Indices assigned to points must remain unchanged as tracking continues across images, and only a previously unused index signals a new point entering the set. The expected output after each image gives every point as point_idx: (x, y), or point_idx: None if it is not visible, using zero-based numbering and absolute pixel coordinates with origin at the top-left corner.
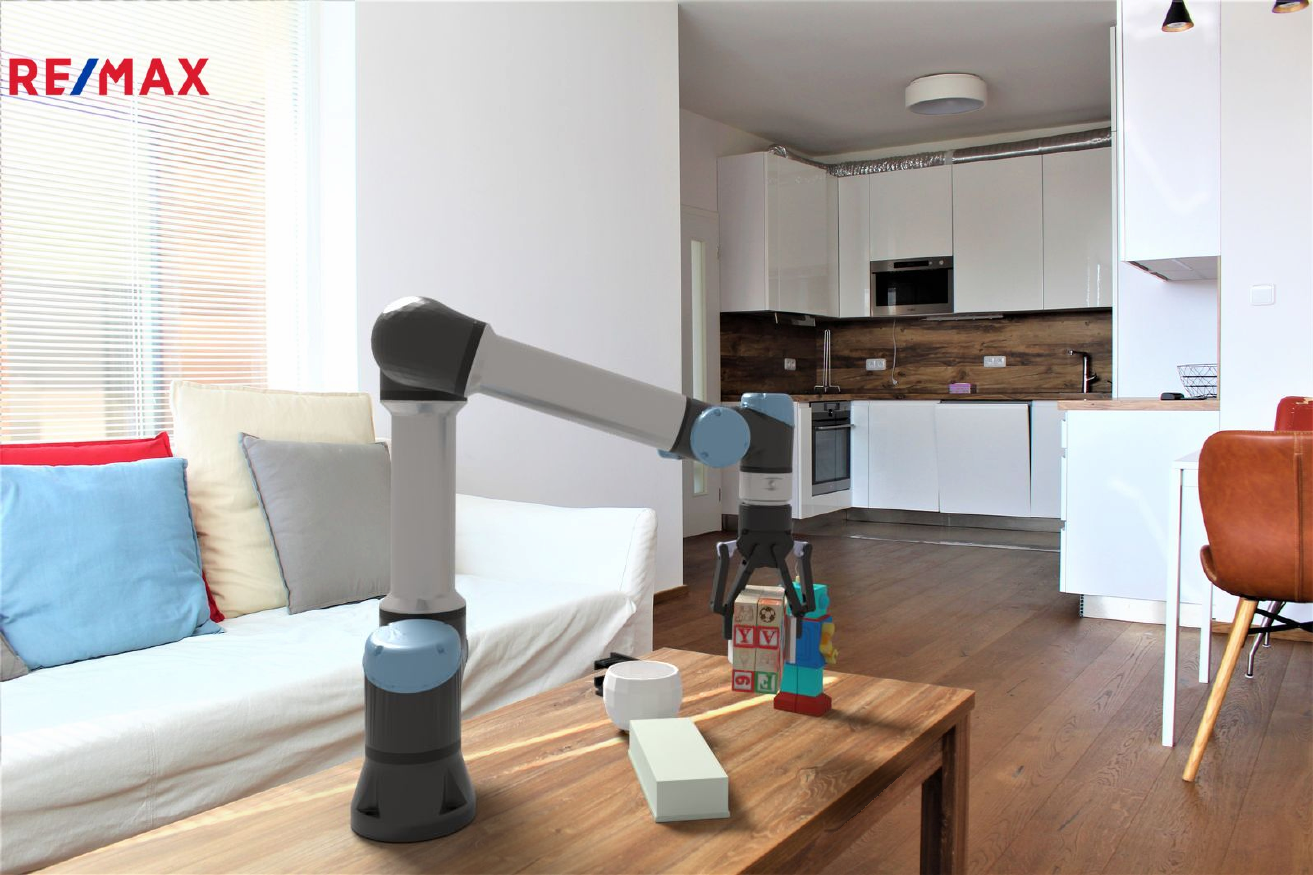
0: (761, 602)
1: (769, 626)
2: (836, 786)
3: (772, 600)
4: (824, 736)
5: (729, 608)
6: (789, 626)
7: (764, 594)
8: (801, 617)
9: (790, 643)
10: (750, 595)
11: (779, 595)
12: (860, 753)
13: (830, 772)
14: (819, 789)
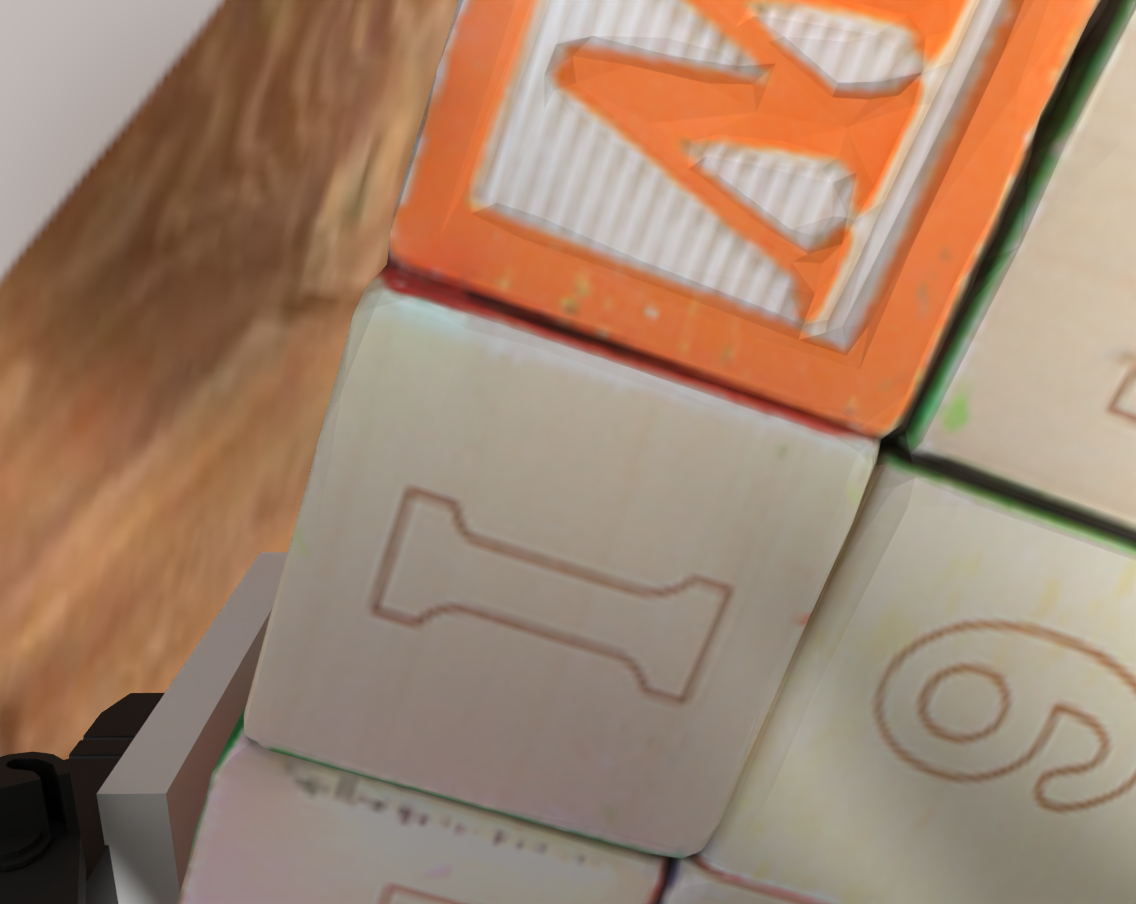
0: (997, 39)
1: None
2: (252, 47)
3: (627, 276)
4: (157, 666)
5: None
6: (212, 769)
7: (670, 760)
8: (25, 757)
9: (258, 631)
10: (980, 749)
11: (347, 654)
12: (36, 442)
13: (237, 229)
14: (344, 23)
